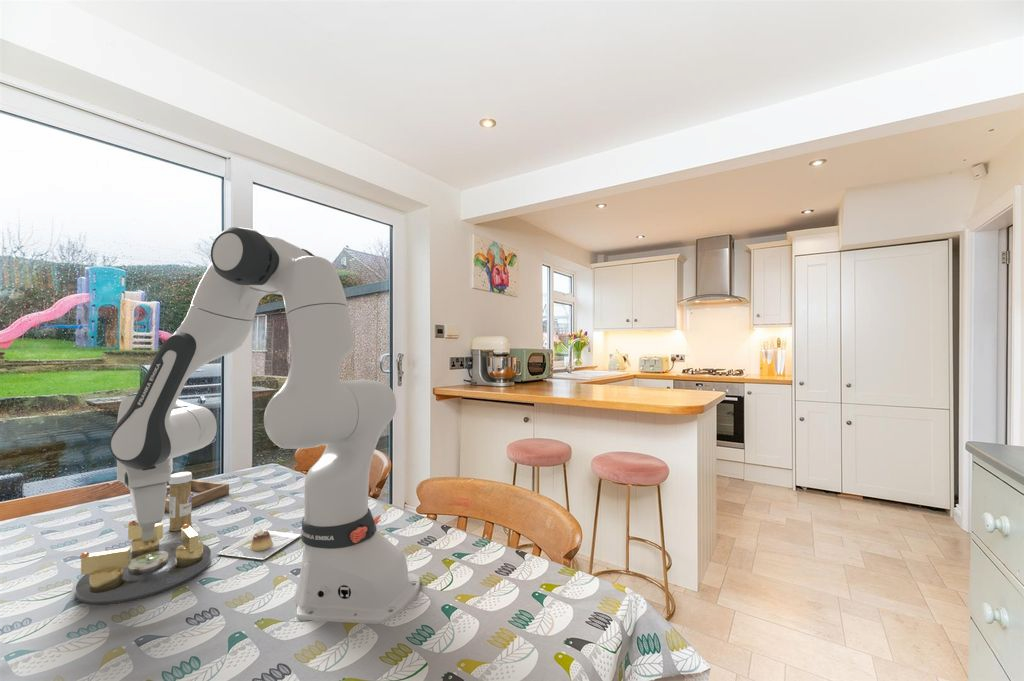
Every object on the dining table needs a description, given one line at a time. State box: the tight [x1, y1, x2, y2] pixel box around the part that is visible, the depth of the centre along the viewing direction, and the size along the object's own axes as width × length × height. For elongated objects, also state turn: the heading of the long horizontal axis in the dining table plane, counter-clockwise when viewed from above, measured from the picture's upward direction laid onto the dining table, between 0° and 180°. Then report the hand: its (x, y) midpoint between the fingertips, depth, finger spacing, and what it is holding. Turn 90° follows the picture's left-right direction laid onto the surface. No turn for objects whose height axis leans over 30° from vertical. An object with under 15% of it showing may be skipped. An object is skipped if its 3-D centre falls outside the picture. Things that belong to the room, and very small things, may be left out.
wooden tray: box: [164, 479, 230, 513], centre depth 123 cm, size 15×15×3 cm
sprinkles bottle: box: [168, 471, 193, 532], centre depth 105 cm, size 5×5×14 cm
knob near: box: [176, 524, 204, 567], centre depth 85 cm, size 7×4×7 cm, turn 50°
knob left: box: [79, 546, 132, 593], centre depth 77 cm, size 7×4×7 cm, turn 115°
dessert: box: [216, 527, 302, 561], centre depth 96 cm, size 12×12×5 cm
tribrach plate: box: [75, 541, 212, 606], centre depth 84 cm, size 20×20×4 cm
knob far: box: [127, 520, 164, 558], centre depth 88 cm, size 7×4×7 cm, turn 86°
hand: (145, 533), depth 89 cm, fingers open, 6 cm apart
